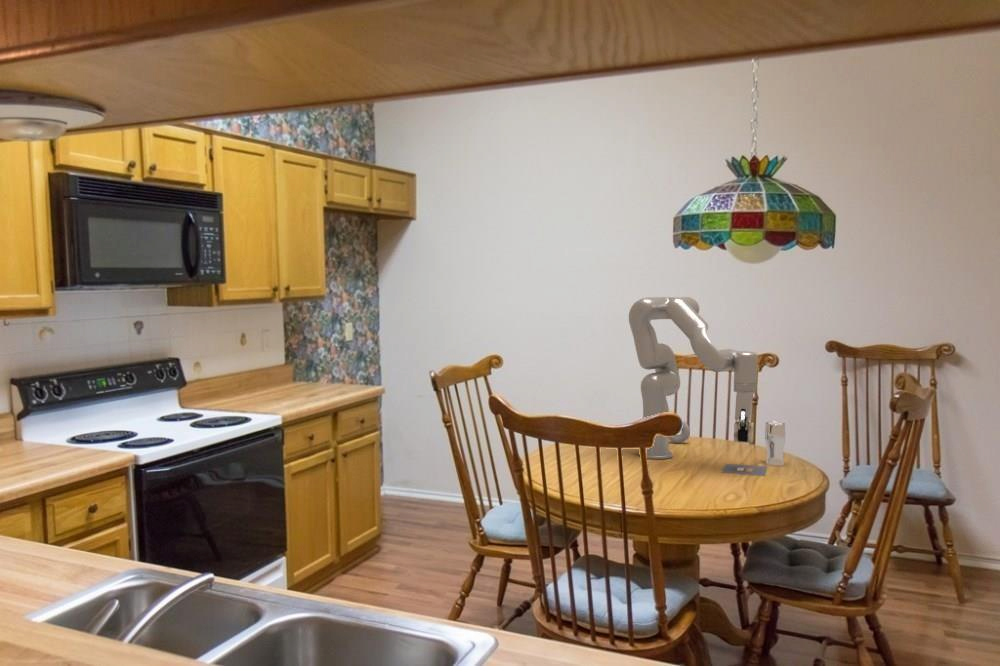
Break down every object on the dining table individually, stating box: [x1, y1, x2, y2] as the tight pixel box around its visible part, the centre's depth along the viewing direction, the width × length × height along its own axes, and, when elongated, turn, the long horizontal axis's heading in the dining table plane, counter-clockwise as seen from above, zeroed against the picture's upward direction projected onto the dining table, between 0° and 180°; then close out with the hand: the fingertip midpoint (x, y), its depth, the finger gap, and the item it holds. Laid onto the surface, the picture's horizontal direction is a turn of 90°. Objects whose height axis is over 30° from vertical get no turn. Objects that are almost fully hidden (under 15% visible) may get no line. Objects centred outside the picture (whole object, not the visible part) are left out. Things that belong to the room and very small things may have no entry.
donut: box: [669, 420, 691, 444], centre depth 305 cm, size 10×3×10 cm, turn 68°
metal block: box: [733, 420, 755, 444], centre depth 258 cm, size 6×6×6 cm
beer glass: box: [764, 421, 787, 466], centre depth 267 cm, size 7×7×15 cm
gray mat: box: [721, 463, 768, 477], centre depth 259 cm, size 14×14×1 cm
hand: (743, 438), depth 258 cm, fingers closed on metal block, 6 cm apart
